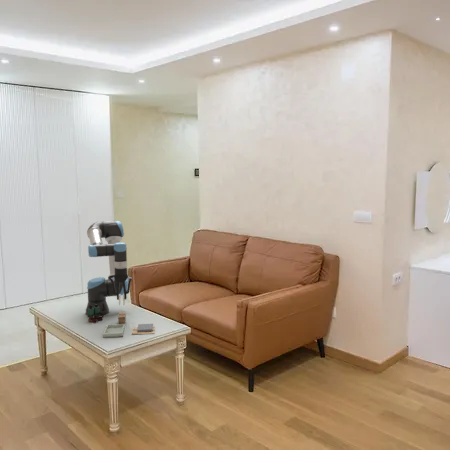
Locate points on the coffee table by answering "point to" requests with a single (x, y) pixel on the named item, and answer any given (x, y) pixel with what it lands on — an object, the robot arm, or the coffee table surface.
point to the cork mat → (142, 332)
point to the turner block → (122, 318)
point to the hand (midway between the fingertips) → (121, 304)
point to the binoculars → (94, 313)
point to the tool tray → (114, 330)
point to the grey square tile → (144, 327)
